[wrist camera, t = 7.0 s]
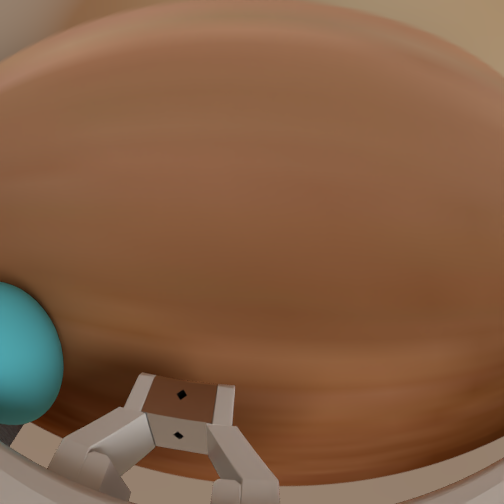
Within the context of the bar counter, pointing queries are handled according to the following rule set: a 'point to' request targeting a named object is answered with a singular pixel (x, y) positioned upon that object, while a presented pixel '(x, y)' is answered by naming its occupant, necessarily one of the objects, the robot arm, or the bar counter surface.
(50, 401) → the ball
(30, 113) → the bar counter surface
